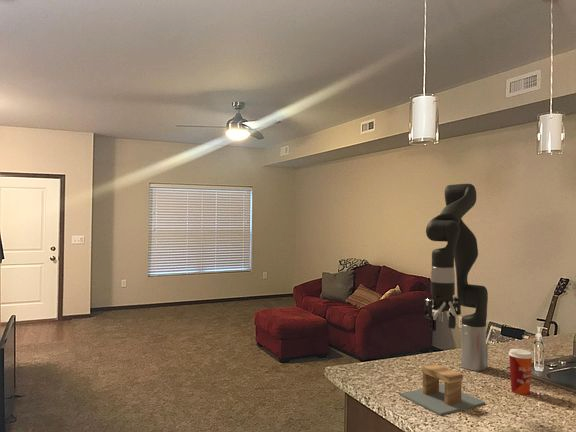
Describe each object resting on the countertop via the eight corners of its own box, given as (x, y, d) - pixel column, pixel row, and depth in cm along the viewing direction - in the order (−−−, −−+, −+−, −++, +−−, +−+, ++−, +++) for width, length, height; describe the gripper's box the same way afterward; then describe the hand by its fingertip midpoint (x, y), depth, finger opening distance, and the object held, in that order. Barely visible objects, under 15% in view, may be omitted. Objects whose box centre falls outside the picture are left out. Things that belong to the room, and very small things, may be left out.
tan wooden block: (462, 402, 148) (462, 374, 148) (449, 405, 145) (449, 377, 145) (434, 390, 159) (435, 363, 159) (421, 392, 156) (422, 366, 156)
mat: (443, 385, 165) (443, 384, 165) (485, 404, 149) (485, 402, 149) (399, 395, 155) (399, 393, 155) (439, 415, 139) (439, 413, 139)
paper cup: (523, 397, 154) (523, 355, 154) (503, 390, 161) (503, 349, 161) (538, 393, 158) (538, 352, 158) (517, 386, 165) (518, 347, 165)
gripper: (435, 283, 146) (434, 334, 146) (467, 280, 152) (466, 329, 152) (418, 280, 153) (418, 329, 152) (449, 278, 159) (449, 325, 159)
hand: (442, 329), depth 152 cm, fingers open, 8 cm apart
